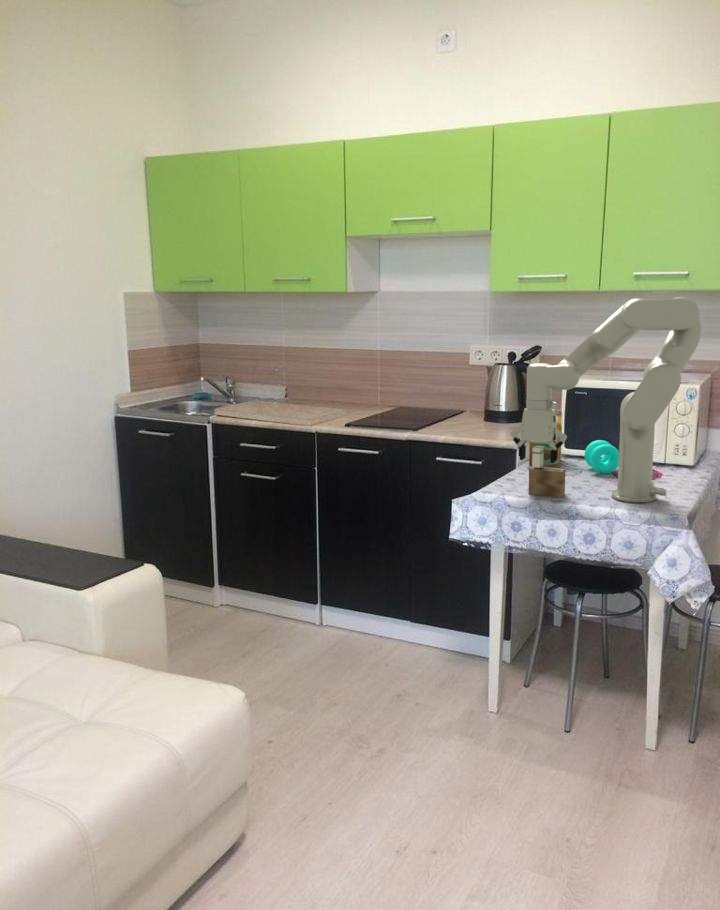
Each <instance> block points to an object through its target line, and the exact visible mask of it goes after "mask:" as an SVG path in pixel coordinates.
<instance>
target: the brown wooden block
mask: <svg viewBox="0 0 720 910" xmlns="http://www.w3.org/2000/svg"><path fill="white" fill-rule="evenodd" d="M533 494H537V495H536V496H541V495H544V496H543V497H549V496H550V498H559V499H561V498H563V497H564V496H565V495H566V468H560V467H558V468H556V467H550V466H542V467H540V468H537V467H532V466H530V468H528V495H533Z"/></svg>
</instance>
